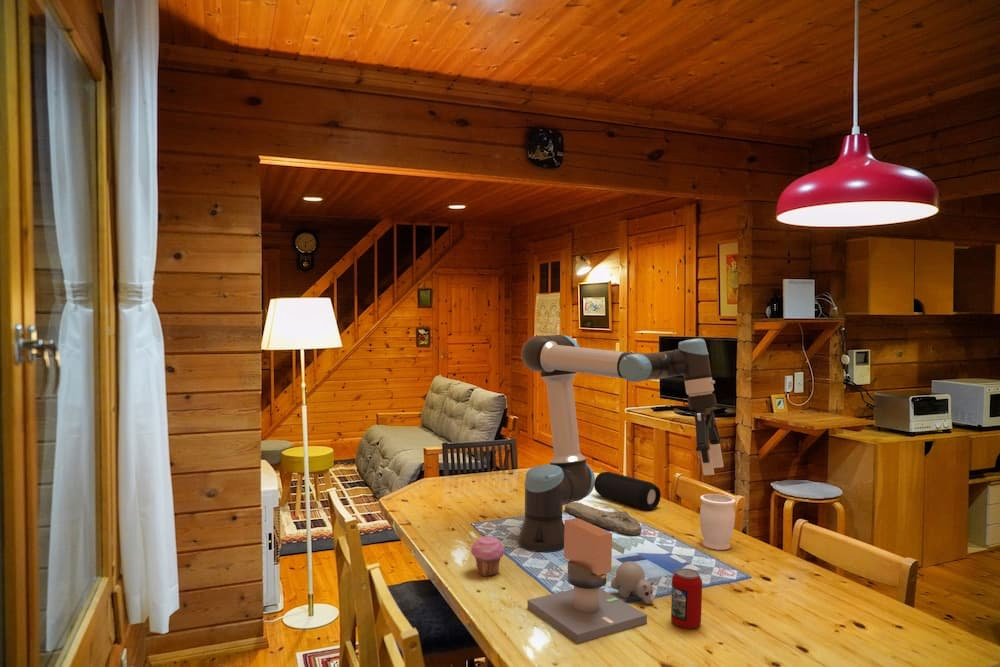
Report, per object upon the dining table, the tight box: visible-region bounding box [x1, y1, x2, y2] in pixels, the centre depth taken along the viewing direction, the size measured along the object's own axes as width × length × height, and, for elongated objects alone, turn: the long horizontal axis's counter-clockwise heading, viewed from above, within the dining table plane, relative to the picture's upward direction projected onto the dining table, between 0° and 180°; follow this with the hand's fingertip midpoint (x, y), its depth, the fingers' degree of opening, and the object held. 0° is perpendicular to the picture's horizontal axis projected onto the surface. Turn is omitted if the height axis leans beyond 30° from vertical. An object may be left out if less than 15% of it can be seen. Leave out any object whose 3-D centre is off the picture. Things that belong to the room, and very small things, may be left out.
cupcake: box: [471, 535, 505, 577], centre depth 185 cm, size 9×9×10 cm
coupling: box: [563, 517, 613, 589], centre depth 160 cm, size 13×9×13 cm
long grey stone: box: [564, 501, 643, 536], centre depth 233 cm, size 35×5×10 cm
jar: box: [699, 493, 736, 551], centre depth 210 cm, size 11×10×15 cm
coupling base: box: [527, 586, 648, 644], centre depth 160 cm, size 20×20×8 cm
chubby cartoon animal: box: [610, 560, 656, 605], centre depth 170 cm, size 7×12×8 cm, turn 38°
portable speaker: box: [594, 471, 662, 510], centre depth 256 cm, size 26×10×10 cm, turn 39°
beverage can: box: [670, 567, 703, 629], centre depth 157 cm, size 7×7×12 cm
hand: (714, 471), depth 186 cm, fingers open, 13 cm apart
